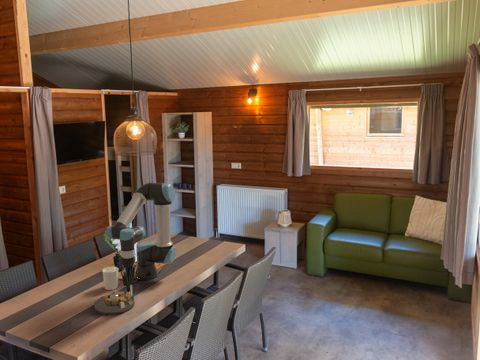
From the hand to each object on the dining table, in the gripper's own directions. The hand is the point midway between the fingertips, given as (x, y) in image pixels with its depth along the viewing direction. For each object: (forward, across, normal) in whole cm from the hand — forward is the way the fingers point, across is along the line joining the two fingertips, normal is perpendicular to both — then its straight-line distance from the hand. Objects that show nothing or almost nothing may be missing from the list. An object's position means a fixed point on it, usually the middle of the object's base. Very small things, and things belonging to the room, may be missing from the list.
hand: (129, 295), depth 233 cm
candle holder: (+8, -22, -26) cm, 35 cm away
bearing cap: (+7, 0, -10) cm, 12 cm away
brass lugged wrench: (+4, +1, -7) cm, 8 cm away
